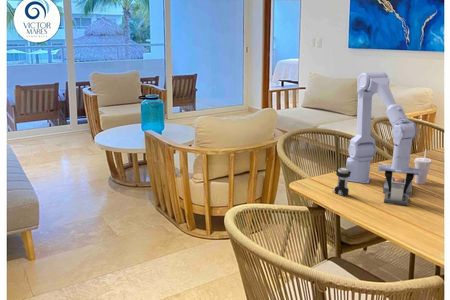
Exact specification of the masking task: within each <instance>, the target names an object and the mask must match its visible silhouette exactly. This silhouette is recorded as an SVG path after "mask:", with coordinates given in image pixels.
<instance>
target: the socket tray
mask: <svg viewBox="0 0 450 300" xmlns="http://www.w3.org/2000/svg"><path fill="white" fill-rule="evenodd" d="M390 197H391V192H386V193H384V199H383V203H384V204H390V205H397V206H403V207H408V206H409V196H408V195H407V194H403V197H402V201H400V200H393V199H390Z"/></svg>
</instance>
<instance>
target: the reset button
mask: <svg viewBox="0 0 450 300" xmlns="http://www.w3.org/2000/svg"><path fill="white" fill-rule="evenodd" d="M402 178H403V177H395V180H394V182H400V183H403V179H404V178H403V179H402Z"/></svg>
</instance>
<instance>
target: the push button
mask: <svg viewBox="0 0 450 300" xmlns="http://www.w3.org/2000/svg"><path fill="white" fill-rule="evenodd" d="M335 174H336V176H337V184H336V186H335V187H331V191H332V192H334V194H335V195H338V196H342V197H347V196H349V190H350V189H349V188H348V182H349V181H348V177H350V174H351V172H350V171H349V169H347V168H346V167H339V168H338V169H337V170H336V171H335Z"/></svg>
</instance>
